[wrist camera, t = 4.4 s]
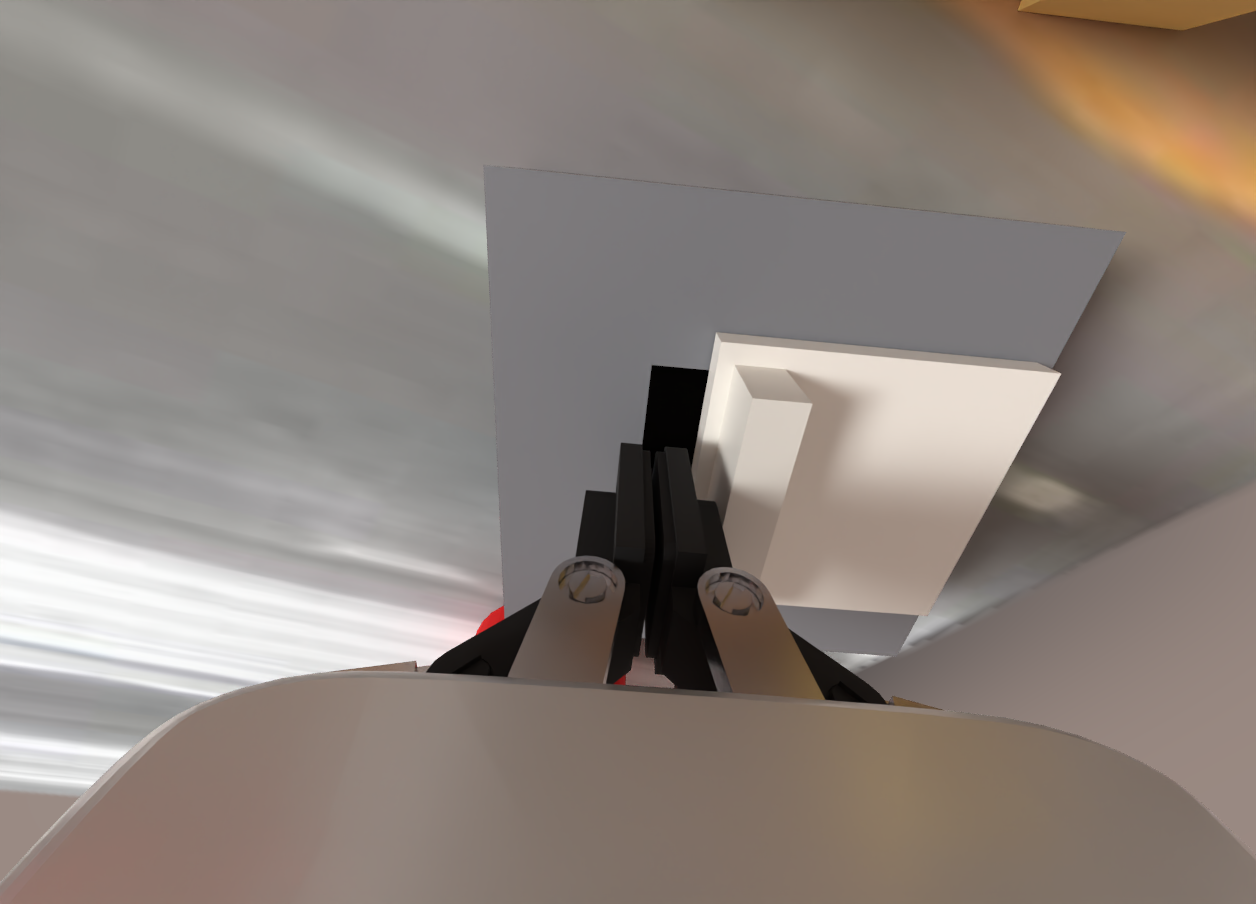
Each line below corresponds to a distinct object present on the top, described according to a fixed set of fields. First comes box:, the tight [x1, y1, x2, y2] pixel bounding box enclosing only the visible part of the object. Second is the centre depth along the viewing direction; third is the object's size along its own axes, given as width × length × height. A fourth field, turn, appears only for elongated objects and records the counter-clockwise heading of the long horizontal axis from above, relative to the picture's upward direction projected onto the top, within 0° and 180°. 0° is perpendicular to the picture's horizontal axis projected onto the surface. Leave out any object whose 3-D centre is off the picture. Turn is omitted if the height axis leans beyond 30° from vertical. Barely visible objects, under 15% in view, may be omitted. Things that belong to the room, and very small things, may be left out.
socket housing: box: [484, 165, 1126, 656], centre depth 16 cm, size 14×14×5 cm
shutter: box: [691, 332, 1061, 616], centre depth 13 cm, size 8×8×3 cm
